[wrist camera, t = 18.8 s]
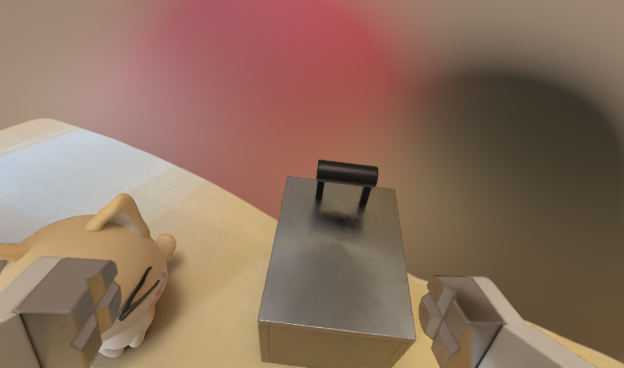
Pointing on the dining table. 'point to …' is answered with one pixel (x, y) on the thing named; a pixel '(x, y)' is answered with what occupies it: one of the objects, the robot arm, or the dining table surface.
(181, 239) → the dining table surface
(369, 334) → the tin lid
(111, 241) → the kitten
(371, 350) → the tin
